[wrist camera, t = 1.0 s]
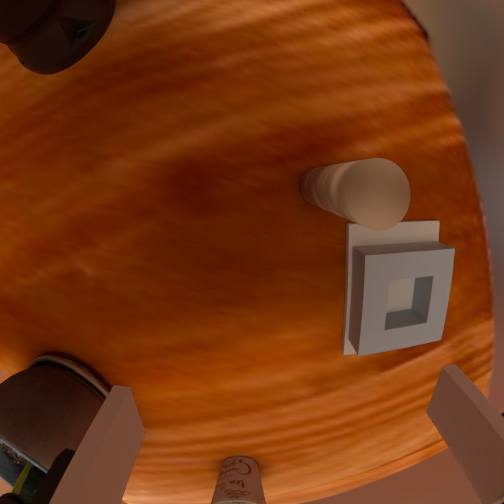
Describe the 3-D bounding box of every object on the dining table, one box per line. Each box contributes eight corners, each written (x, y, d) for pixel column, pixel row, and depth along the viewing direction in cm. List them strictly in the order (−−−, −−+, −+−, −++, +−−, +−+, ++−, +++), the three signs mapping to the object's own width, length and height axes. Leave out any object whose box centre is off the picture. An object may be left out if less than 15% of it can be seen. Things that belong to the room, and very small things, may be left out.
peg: (298, 168, 30) (344, 157, 15) (335, 167, 30) (409, 159, 15) (300, 206, 31) (347, 232, 16) (336, 204, 31) (410, 229, 16)
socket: (345, 223, 32) (361, 230, 27) (435, 219, 31) (458, 226, 27) (341, 351, 35) (352, 373, 30) (421, 337, 35) (439, 355, 30)
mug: (267, 453, 40) (270, 502, 30) (259, 489, 43) (261, 530, 33) (214, 450, 40) (209, 499, 30) (215, 486, 43) (210, 528, 33)
